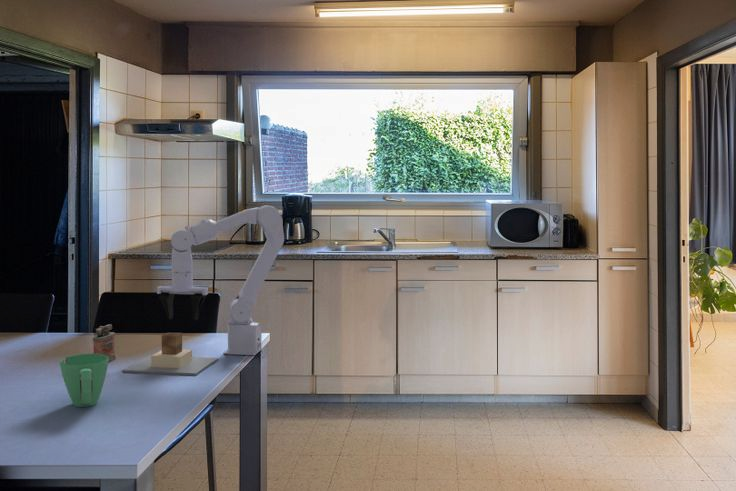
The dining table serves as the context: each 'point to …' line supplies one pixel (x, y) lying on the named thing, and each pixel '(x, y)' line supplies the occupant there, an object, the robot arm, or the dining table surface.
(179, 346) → the walnut block
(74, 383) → the mug
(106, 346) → the lighter
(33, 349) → the dining table surface
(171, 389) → the dining table surface
